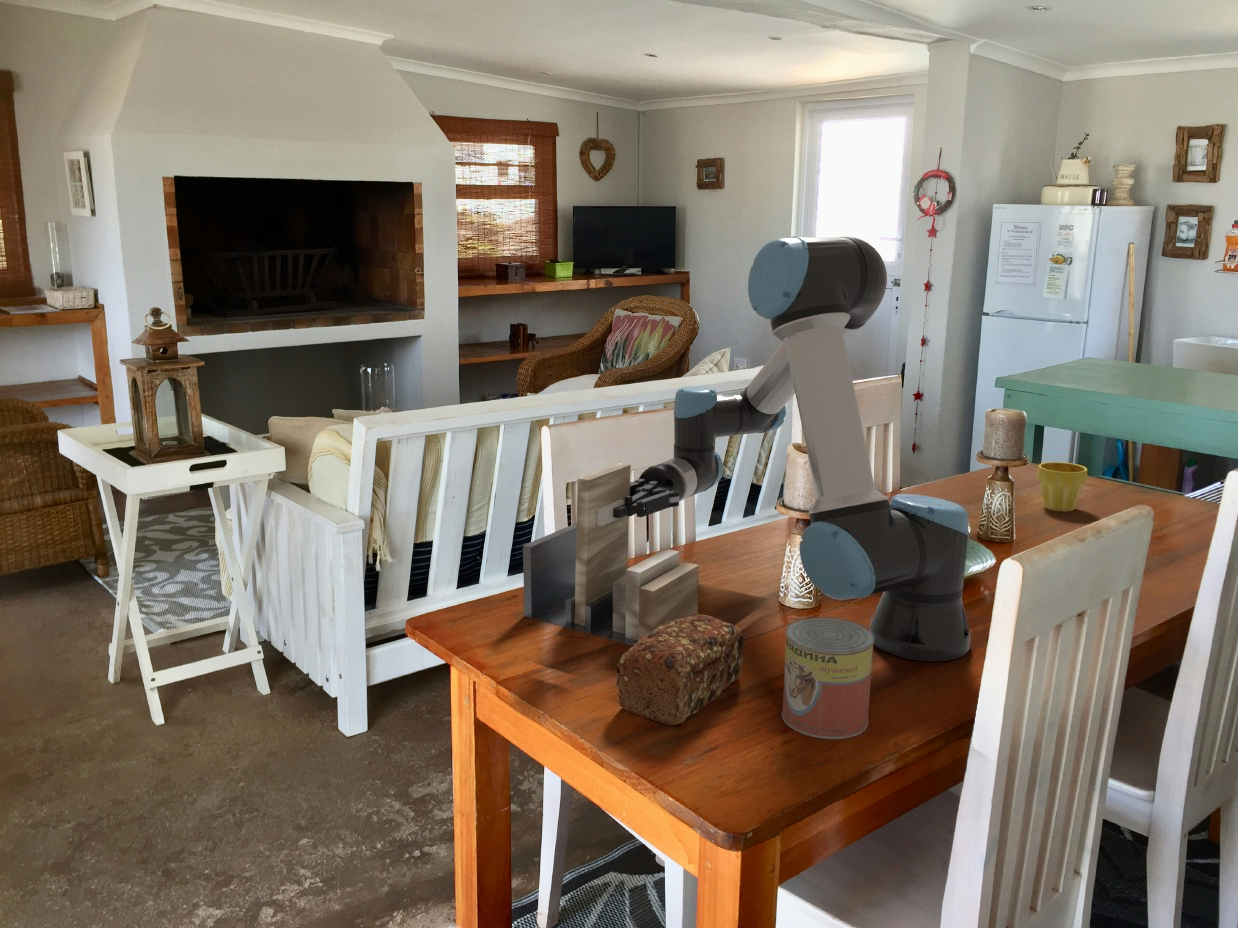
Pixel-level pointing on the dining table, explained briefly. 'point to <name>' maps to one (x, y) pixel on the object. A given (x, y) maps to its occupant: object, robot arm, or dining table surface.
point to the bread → (679, 668)
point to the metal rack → (562, 587)
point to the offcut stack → (654, 594)
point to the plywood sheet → (600, 536)
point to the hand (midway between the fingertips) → (590, 515)
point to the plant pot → (1061, 484)
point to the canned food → (827, 677)
